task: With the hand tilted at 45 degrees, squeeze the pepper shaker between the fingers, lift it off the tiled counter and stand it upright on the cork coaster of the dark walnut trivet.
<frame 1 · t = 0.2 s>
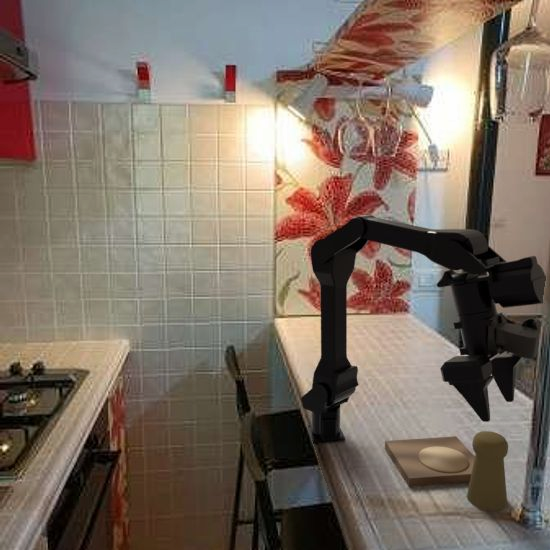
hand: (498, 411, 82), 15 cm above the counter, tool tilted 15°, fingers open, 9 cm apart
walnut trivet: (434, 463, 97), on the counter
pepper shaker: (486, 500, 86), on the counter
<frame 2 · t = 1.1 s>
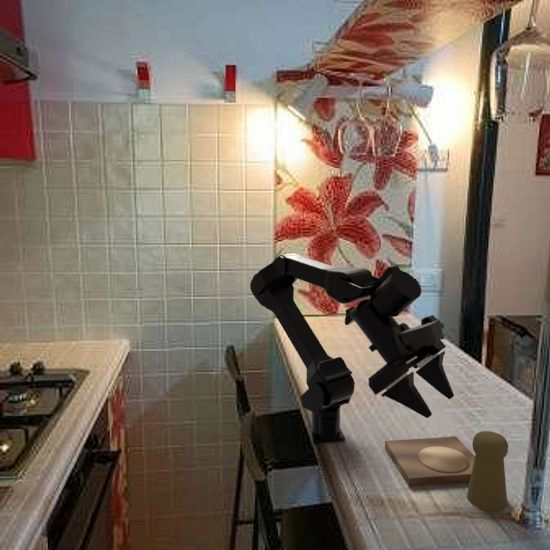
hand: (441, 406, 88), 13 cm above the counter, tool tilted 45°, fingers open, 9 cm apart
nothing on the counter moved.
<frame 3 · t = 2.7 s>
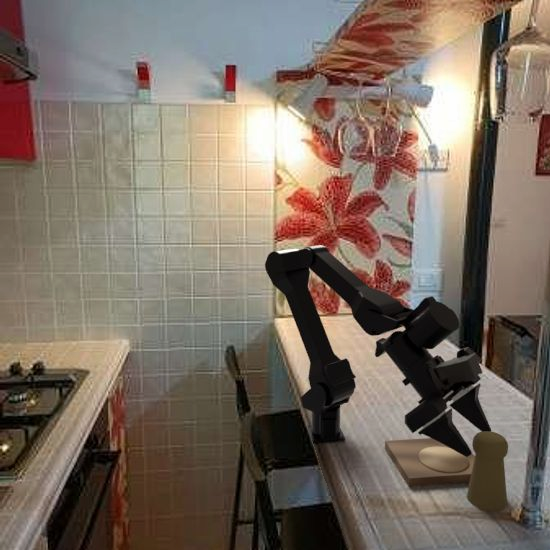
hand: (479, 443, 85), 9 cm above the counter, tool tilted 45°, fingers open, 9 cm apart
nothing on the counter moved.
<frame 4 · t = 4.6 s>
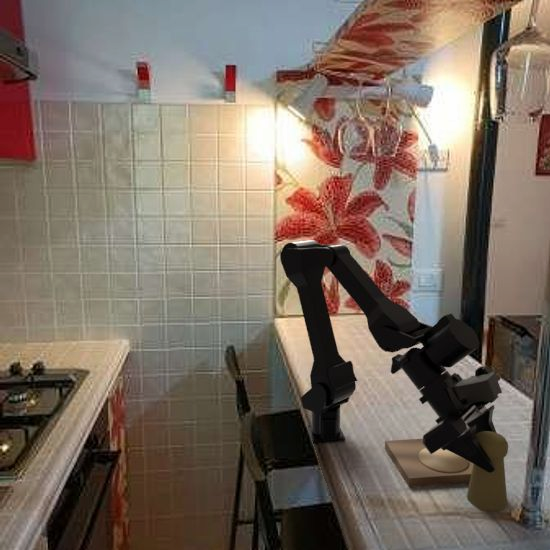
hand: (498, 464, 84), 7 cm above the counter, tool tilted 45°, fingers closed on pepper shaker, 5 cm apart
pepper shaker: (486, 500, 86), on the counter, touching gripper
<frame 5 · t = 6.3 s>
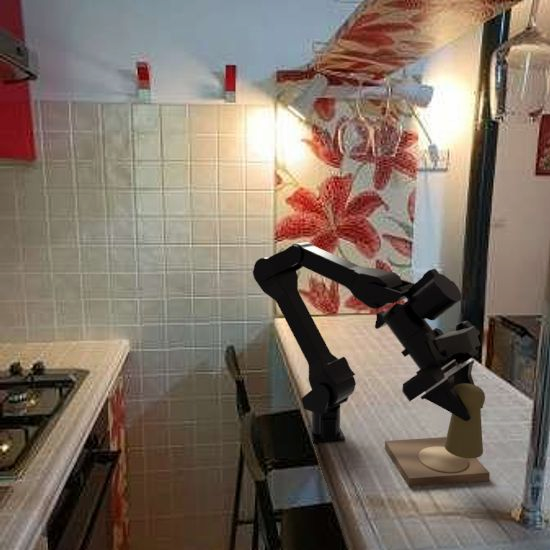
hand: (474, 414, 87), 13 cm above the counter, tool tilted 45°, fingers closed on pepper shaker, 5 cm apart
pepper shaker: (463, 449, 89), point 6 cm above the counter, touching gripper
when the fingers open (9 cm above the counter, at t = 8.4 s): pepper shaker stays where it is, resting on walnut trivet.
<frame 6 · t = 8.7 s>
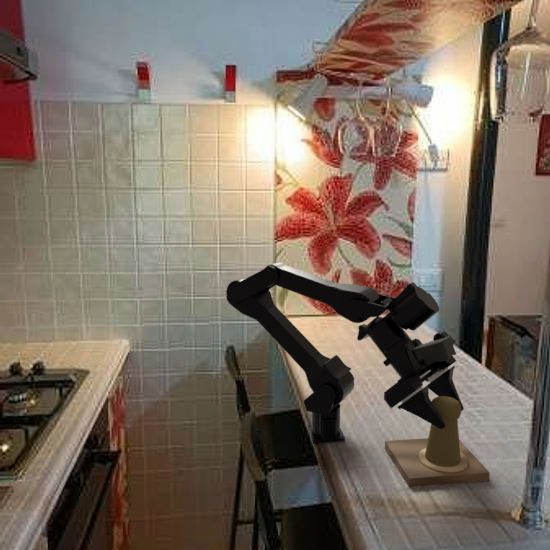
hand: (453, 419, 93), 10 cm above the counter, tool tilted 45°, fingers open, 8 cm apart
pepper shaker: (442, 458, 95), point 2 cm above the counter, touching walnut trivet
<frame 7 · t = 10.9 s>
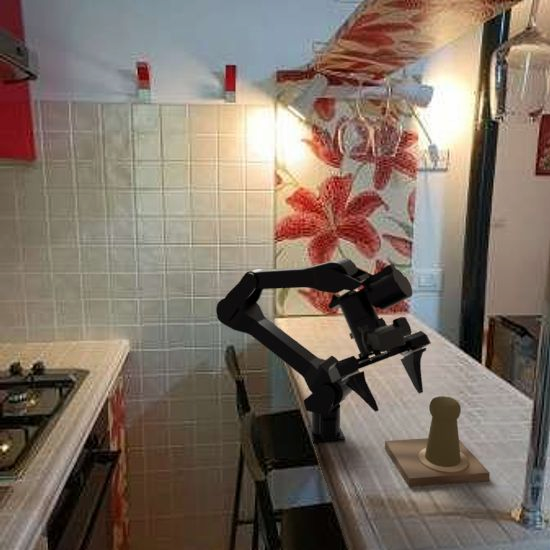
hand: (399, 401, 95), 12 cm above the counter, tool tilted 35°, fingers open, 9 cm apart
nothing on the counter moved.
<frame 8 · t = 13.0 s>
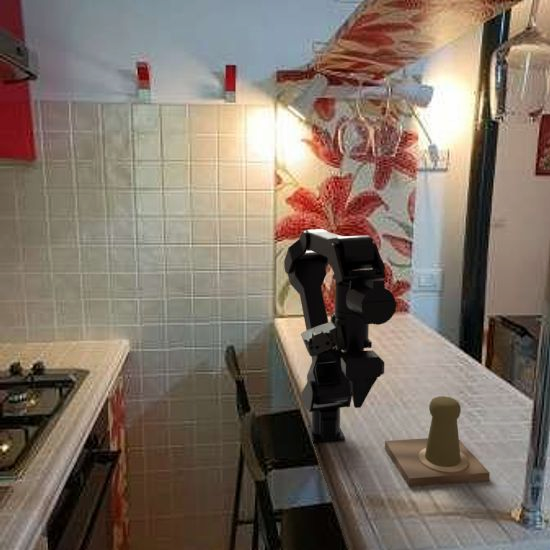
hand: (350, 396, 94), 13 cm above the counter, tool pointing down, fingers open, 9 cm apart
nothing on the counter moved.
at the end: pepper shaker inside the target area on the walnut trivet (0.7 cm from its centre), point 1.6 cm above the walnut trivet's base; pepper shaker tilted 0°; the gripper is holding nothing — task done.
